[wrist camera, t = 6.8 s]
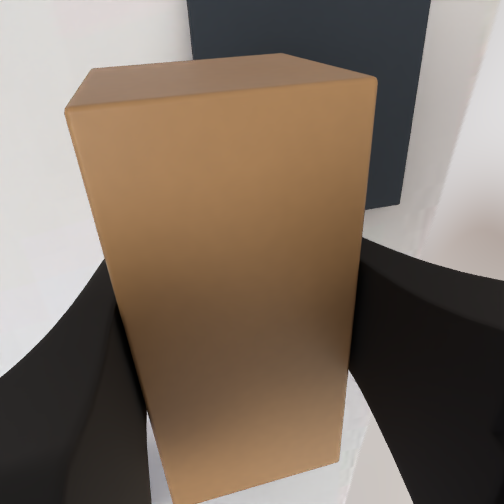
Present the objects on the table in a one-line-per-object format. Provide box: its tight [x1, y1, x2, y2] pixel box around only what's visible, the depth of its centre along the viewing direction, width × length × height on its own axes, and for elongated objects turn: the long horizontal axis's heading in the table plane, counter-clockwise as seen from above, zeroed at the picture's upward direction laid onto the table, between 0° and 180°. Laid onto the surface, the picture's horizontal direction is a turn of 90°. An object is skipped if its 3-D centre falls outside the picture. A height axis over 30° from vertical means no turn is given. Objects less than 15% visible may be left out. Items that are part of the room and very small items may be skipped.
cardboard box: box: [64, 53, 378, 504], centre depth 10 cm, size 10×5×5 cm, turn 3°
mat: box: [187, 0, 431, 210], centre depth 18 cm, size 10×10×1 cm
